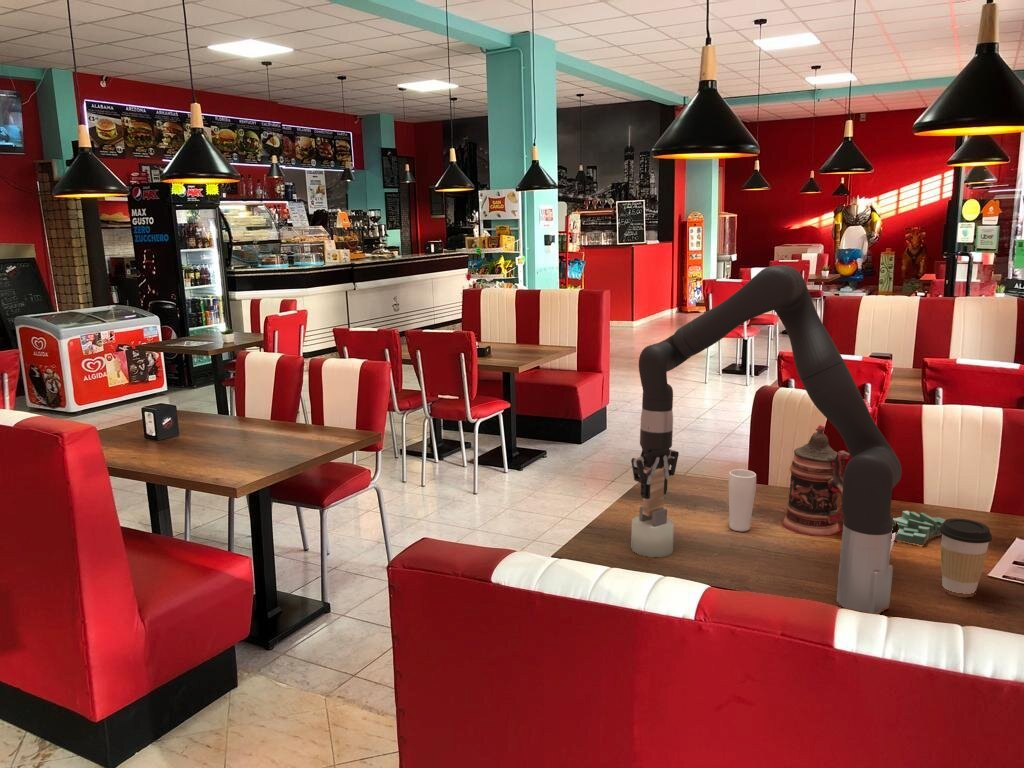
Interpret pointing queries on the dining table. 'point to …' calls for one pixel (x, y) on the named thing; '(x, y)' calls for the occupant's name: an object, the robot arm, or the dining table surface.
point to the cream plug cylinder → (652, 534)
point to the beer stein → (815, 488)
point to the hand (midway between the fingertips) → (653, 495)
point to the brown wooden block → (654, 492)
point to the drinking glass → (741, 498)
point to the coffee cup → (963, 554)
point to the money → (917, 527)
